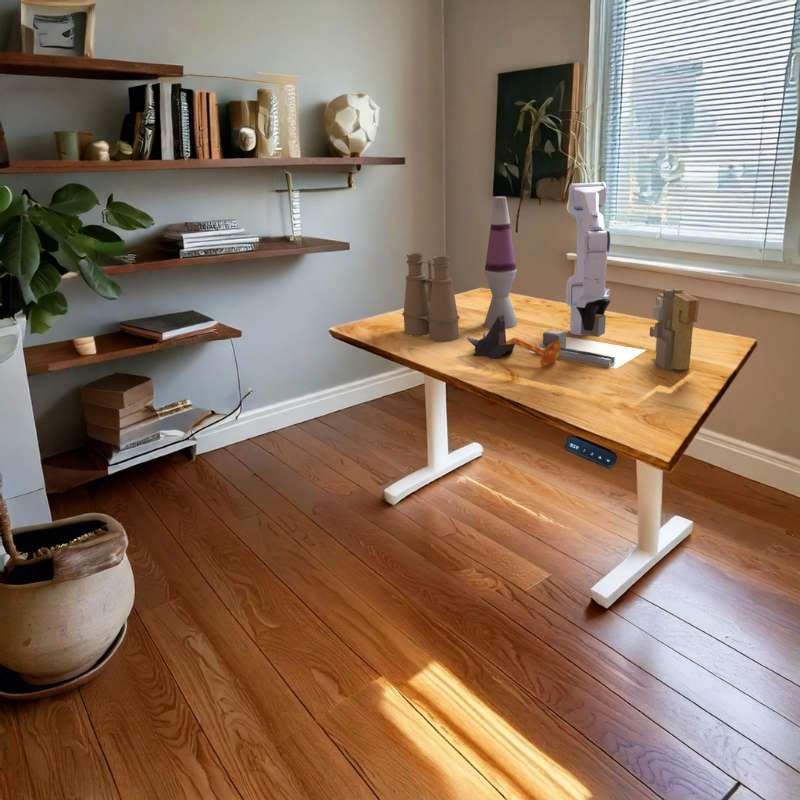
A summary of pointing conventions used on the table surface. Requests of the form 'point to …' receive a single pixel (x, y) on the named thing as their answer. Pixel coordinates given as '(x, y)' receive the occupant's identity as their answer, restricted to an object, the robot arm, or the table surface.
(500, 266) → the lamp
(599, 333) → the block
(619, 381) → the table surface
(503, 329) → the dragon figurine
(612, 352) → the panel
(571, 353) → the rail
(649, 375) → the table surface
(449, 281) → the binoculars
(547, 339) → the mounted module
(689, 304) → the toy
